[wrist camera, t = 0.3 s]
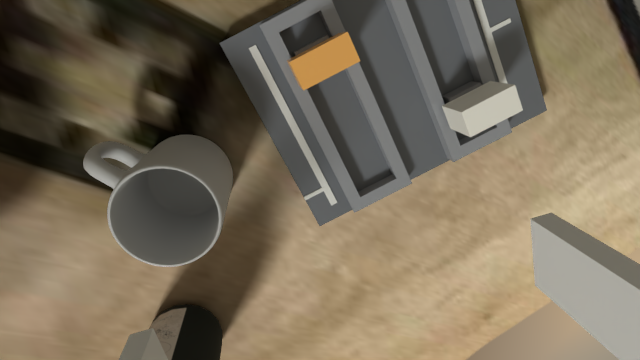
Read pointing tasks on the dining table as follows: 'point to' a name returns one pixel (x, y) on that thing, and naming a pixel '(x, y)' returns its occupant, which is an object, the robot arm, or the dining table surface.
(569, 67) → the dining table surface
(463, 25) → the grey flat slotted tray
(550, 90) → the dining table surface
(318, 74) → the block
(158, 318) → the wine bottle
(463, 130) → the fader
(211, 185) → the mug
